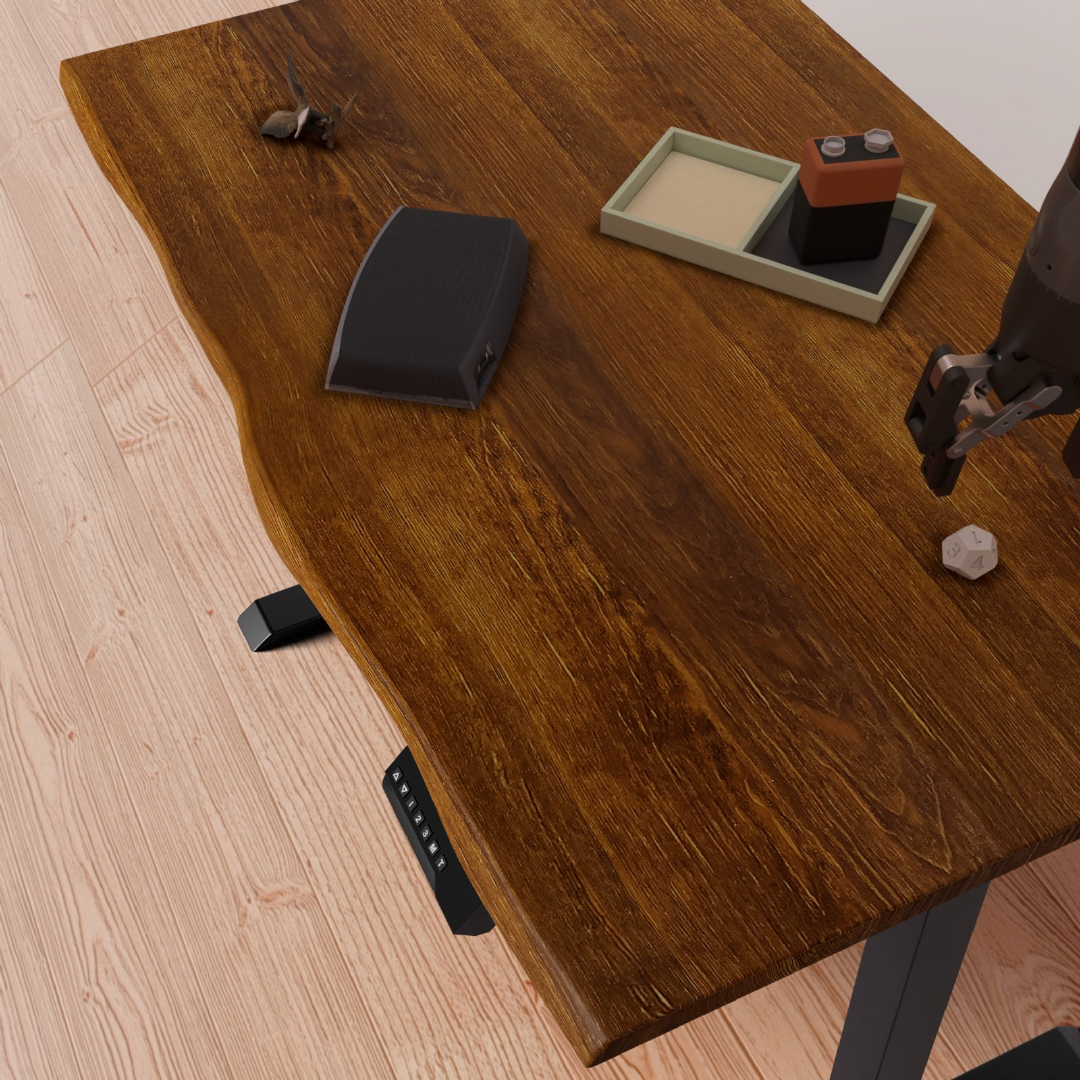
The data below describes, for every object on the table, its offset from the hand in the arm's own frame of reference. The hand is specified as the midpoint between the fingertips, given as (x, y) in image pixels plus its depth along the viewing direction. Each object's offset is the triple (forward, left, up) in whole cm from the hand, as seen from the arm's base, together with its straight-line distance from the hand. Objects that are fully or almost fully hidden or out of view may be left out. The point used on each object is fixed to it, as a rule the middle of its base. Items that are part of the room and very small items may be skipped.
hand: (1005, 476), depth 69 cm
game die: (0, 0, -9) cm, 9 cm away
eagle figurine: (+41, -57, -9) cm, 71 cm away
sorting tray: (+3, -36, -9) cm, 37 cm away
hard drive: (+32, -30, -9) cm, 45 cm away
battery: (-1, -32, -8) cm, 33 cm away
